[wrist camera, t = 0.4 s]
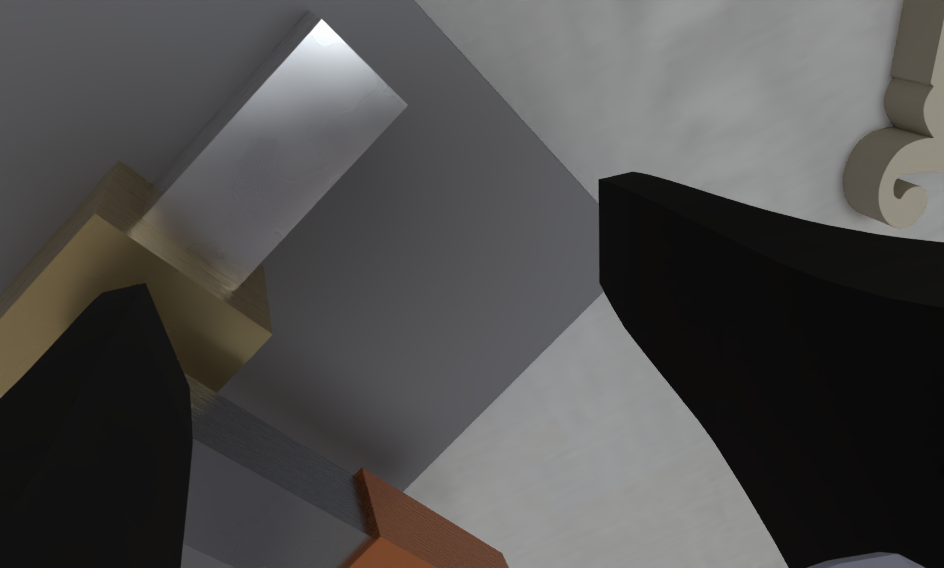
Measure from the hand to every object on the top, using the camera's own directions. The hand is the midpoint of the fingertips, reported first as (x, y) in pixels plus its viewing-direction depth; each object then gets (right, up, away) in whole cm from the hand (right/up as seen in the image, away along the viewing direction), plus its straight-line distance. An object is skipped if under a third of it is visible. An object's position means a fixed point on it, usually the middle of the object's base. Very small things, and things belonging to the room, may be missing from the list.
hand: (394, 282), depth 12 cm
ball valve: (-8, -1, +7) cm, 11 cm away
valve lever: (-3, -5, +5) cm, 8 cm away
